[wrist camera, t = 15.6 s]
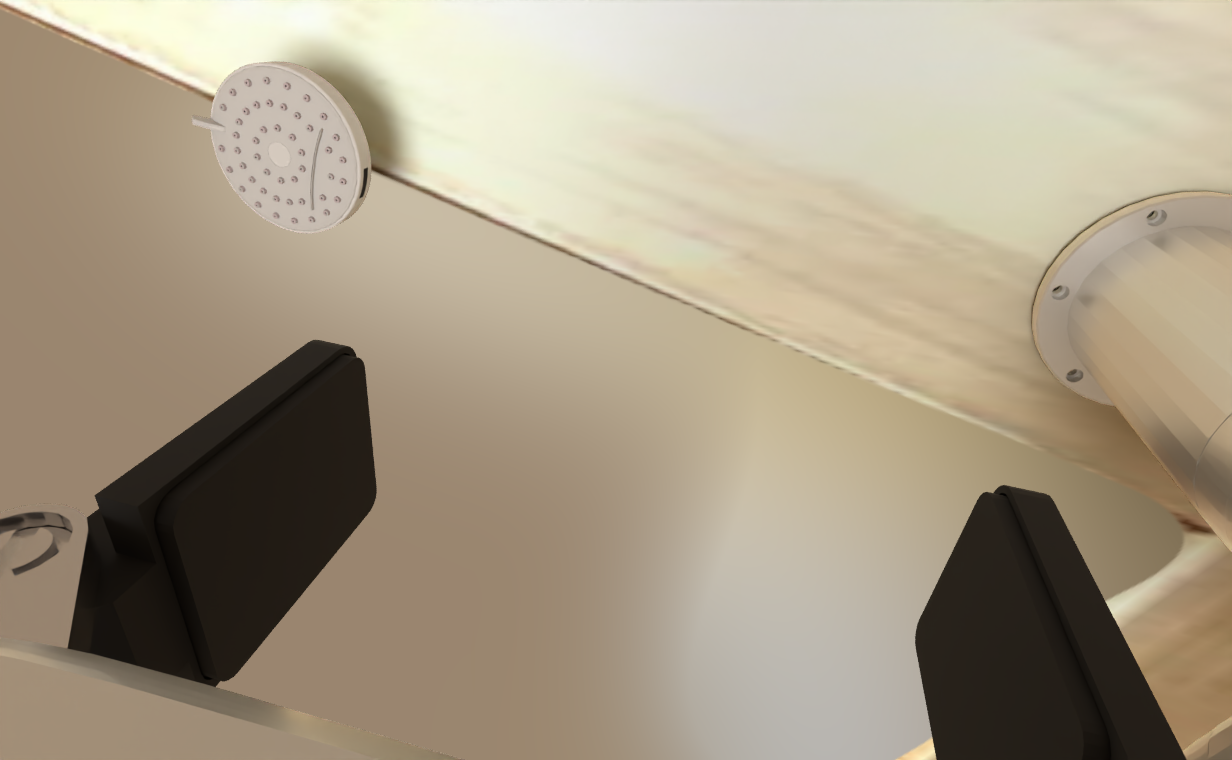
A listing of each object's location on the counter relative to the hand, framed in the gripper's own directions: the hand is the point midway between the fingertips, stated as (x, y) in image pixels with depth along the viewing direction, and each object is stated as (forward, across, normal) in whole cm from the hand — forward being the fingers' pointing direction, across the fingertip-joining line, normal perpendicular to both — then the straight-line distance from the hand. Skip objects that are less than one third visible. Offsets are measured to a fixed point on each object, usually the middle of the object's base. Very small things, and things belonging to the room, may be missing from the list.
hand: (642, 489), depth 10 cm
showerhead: (+34, +26, +4) cm, 43 cm away
